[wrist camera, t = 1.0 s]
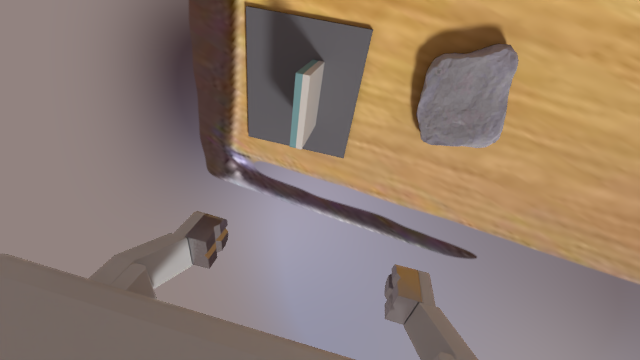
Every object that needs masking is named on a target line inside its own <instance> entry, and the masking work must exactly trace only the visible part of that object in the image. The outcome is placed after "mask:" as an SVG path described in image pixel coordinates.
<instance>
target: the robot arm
mask: <svg viewBox="0 0 640 360" xmlns="http://www.w3.org/2000/svg"><path fill="white" fill-rule="evenodd" d="M227 225H228V224H227V220H226V219H223V218H219V217H216V216H213V215H209V214H205V213H202V212H199V211H196V212H194V213H193V214H192V215H191V216H190V217H189V218H188V219H187V220H186V221H185V222H184V223H183V224H182V225H181V226H180V227H179V229H177V230H176V232H175V233H174V234H172V233H169V234H167V235H164V236H162V237H159V238H157V239H154V240H152V241H149V242H147V243H144V244H142V245H139V246H137V247H134V248H132V249H129V250H127V251H124V252H122V253H119V254H117V255H114V256H113V257H112V258H111V259H110V260H109V261H108V262H106V263H105V264H104V265H103V266H102V267H101V268H100V269H99V270H97V272H95V273H94V274H93V275H92V276H91V277H90V278H88V279H87V278H84V277H81V276H77V275H74V274H70V273H67V272H64V271H60V270H57V269H54V268H51V267H48V266H44V265H41V264H38V263H34V262H31V261H28V260H25V259H22V258H18V257H15V256H12V255H8V254H0V360H355V359H351V358H348V357H345V356H341V355H338V354H335V353H332V352H328V351H325V350H321V349H318V348H315V347H312V346H308V345H305V344H302V343H299V342H295V341H292V340H289V339H285V338H282V337H279V336H275V335H272V334H269V333H265V332H262V331H259V330H255V329H252V328H249V327H245V326H242V325H239V324H235V323H232V322H229V321H226V320H222V319H219V318H216V317H213V316H209V315H206V314H203V313H199V312H196V311H193V310H189V309H186V308H183V307H179V306H176V305H173V304H170V303H166V302H163V301H159V300H157V297H156V295H155V292H154V289H155V288H156V287H158V286H159V285H161V284H163V283H164V282H166V281H168V280H169V279H171V278H172V277H174V276H176V275H177V274H179V273H181V272H182V271H184V270H185V269H187V268H189V267H190V266H192V264H193V265H197V266H201V267H205V268H210V267H211V266H212V264H213V263H214V261H215V260H216V258H217V252H220V251H221V250H223V248H224V247H225V245H226V242H227V240H228V231H227V230H226V226H227ZM385 297H386V299H387V302H386V303H385V319H387V320H390V321H393V322H397V323H399V324H403V325H404V328H405V330H406V331H407V334H408V336H409V337H410V339H411V341H412V343H413V345H414V347H415V349H416V351H417V353H418V355H419V357H420V359H421V360H478V359H477V358H476V356H475V355H474V353H473V352H472V351H471V350H470V348H469V347H468V346H467V344H466V343H465V342H464V340H463V339H462V338H461V336H460V335H459V334H458V332H457V331H456V330H455V328H454V327H453V326H452V324H451V323H450V322H449V320H448V319H447V318H446V317H445V315H444V314H443V312H442V311H441V310H440V308H438V307H436V306H435V301H434V296H433V290H432V285H431V279H430V275H429V273H426V272H422V271H418V270H415V269H411V268H407V267H403V266H399V265H394V266H393V268H392V274H391V275H389V276H388V278H387V281H386V285H385Z"/></svg>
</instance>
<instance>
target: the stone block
mask: <svg viewBox="0 0 640 360" xmlns="http://www.w3.org/2000/svg"><path fill="white" fill-rule="evenodd" d="M517 65H518V56H517V53H516V52H515V51H514V50H513V48H512V46H511V45H507V44H496V45H492V46H489V47H486V48H483V49H481V50H477V51H474V52H472V53H468V54H459V53H451V54H448V53H447V54H442V55H441V56H439V57H437V58H435V59H434V61H433V62H432V63H431V65H430V67H429V68H428V71H427V73H426V77H425V82H424V86H423V90H422V92H421V97H420V101H419V104H418V109H417V118H418V122H419V128H420V131H421V133H420V134H421V139H422V140H423V141H424V142H426V143H428V144H431V145H444V146H467V147H474V148H482V147H487V146H489V145H490V144H492V143H495V142H496V141H497V140H498V139H499V137H500V134H501V132H502V129H503V125H504V120H505V115H506V110H507V100H508V94H509V89H510V86H511V83H512V78H513V76H514V74H515V72H516V70H517Z"/></svg>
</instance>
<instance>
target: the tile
mask: <svg viewBox="0 0 640 360" xmlns="http://www.w3.org/2000/svg"><path fill="white" fill-rule="evenodd" d="M324 63H325V62H323V61H318V60H311V61H310V62H309V63H308V64H306V65H305V66H304V67H303V68H301V69H300V70H299V71H297V72H296V76H295V88H294V100H293V112H292V124H291V136H290V147H293V148H298V149H302V148H303V146H304V145H305V143H306V141H307V139H308V138H309V136H310V134H311V132H312V131H313V129H314V127H315V125H316V119H317V112H318V105H319V98H320V91H321V84H322V77H323V70H324Z"/></svg>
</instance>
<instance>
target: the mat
mask: <svg viewBox="0 0 640 360" xmlns="http://www.w3.org/2000/svg"><path fill="white" fill-rule="evenodd" d="M372 31H373V30H372V29H367V28H362V27H356V26H351V25H346V24H340V23H335V22H329V21H324V20H319V19H313V18H308V17H303V16H297V15H292V14H287V13H281V12H276V11H271V10H265V9H260V8H254V7H249V6H246V33H247V79H248V126H249V136H250V137H254V138H258V139H263V140H267V141H271V142H276V143H280V144H284V145H289V146H290V136H291V124H292V112H293V100H294V88H295V76H296V72H297V71H299V70H300V69H301V68H303V67H304V66H305V65H306V64H308V63H309V62H310V61H311V60H318V61H323V62H325V63H324V70H323V77H322V84H321V91H320V98H319V105H318V112H317V119H316V125H315V127H314V129H313V131H312V132H311V134H310V136H309V138H308V139H307V141H306V143H305V145H304V146H303V148H302V149H306V150H310V151H314V152H319V153H323V154H327V155H332V156H336V157H340V158H344V154H345V149H346V145H347V141H348V136H349V132H350V128H351V123H352V119H353V114H354V110H355V106H356V101H357V97H358V93H359V88H360V84H361V79H362V75H363V71H364V66H365V62H366V58H367V53H368V49H369V45H370V40H371V36H372Z"/></svg>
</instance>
